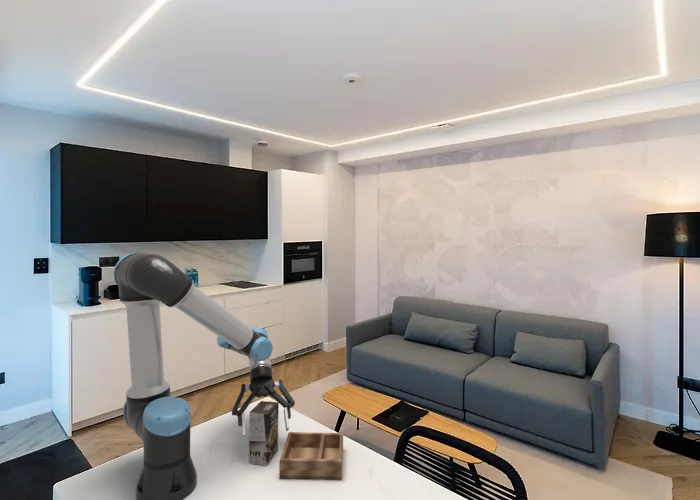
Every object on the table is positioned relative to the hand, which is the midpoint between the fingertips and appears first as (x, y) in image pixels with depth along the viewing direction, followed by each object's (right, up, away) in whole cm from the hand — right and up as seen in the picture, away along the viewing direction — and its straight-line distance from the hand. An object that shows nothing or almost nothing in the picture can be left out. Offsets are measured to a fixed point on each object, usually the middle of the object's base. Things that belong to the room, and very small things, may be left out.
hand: (266, 432), depth 121 cm
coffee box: (-1, -8, +1) cm, 8 cm away
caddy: (+15, -8, -2) cm, 17 cm away
